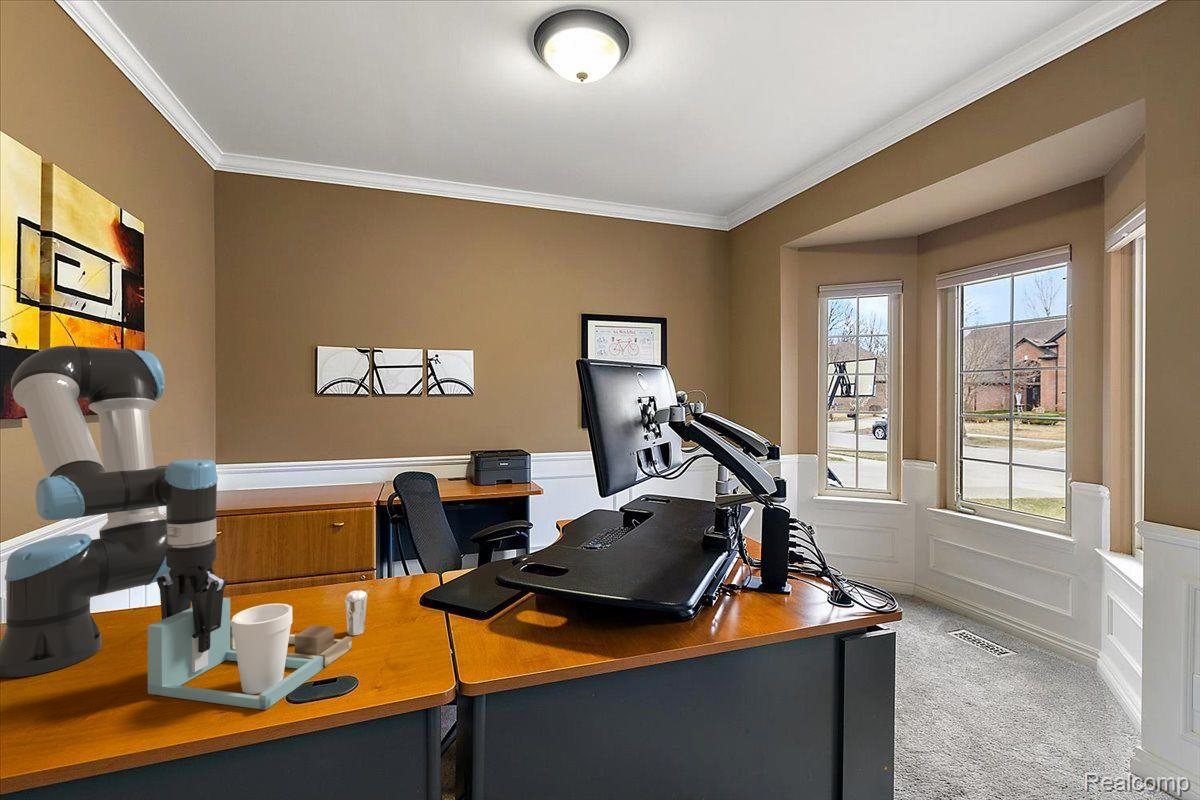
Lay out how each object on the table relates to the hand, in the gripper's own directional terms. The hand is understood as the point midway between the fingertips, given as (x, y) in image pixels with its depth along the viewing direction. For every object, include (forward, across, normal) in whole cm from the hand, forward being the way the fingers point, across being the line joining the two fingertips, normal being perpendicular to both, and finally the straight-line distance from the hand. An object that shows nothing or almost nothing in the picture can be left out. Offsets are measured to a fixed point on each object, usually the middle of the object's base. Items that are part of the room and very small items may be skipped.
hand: (191, 666), depth 101 cm
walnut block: (+2, +17, +12) cm, 21 cm away
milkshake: (+2, +19, +22) cm, 30 cm away
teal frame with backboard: (+2, +10, 0) cm, 11 cm away
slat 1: (+2, +4, +12) cm, 12 cm away
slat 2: (+2, +18, +12) cm, 21 cm away
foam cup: (+2, +16, 0) cm, 16 cm away
